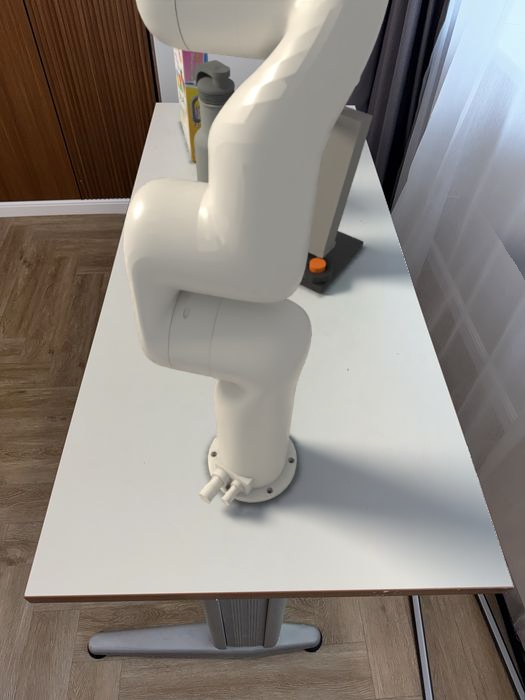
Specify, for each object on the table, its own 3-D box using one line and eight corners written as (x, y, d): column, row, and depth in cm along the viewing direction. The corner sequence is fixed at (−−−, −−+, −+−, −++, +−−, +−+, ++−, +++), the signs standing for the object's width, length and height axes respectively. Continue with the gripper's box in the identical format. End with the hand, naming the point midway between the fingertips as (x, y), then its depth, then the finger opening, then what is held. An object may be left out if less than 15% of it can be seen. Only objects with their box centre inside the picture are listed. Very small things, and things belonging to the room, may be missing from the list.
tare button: (319, 277, 94) (320, 270, 92) (306, 271, 95) (306, 264, 93) (327, 268, 95) (328, 261, 94) (314, 262, 96) (315, 255, 95)
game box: (213, 160, 123) (207, 36, 102) (191, 162, 122) (180, 38, 101) (200, 120, 136) (192, 3, 115) (180, 122, 135) (168, 4, 114)
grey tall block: (334, 247, 98) (375, 115, 82) (321, 259, 94) (362, 122, 78) (274, 220, 102) (301, 89, 86) (259, 231, 98) (284, 95, 81)
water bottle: (189, 195, 114) (176, 61, 92) (225, 181, 118) (220, 50, 96) (214, 217, 109) (207, 81, 87) (251, 202, 113) (252, 68, 91)
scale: (321, 294, 94) (323, 282, 92) (251, 261, 100) (251, 248, 97) (362, 247, 103) (365, 235, 101) (296, 219, 109) (297, 207, 106)
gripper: (335, 32, 65) (319, 161, 79) (390, -2, 74) (367, 120, 88) (287, 19, 68) (279, 146, 82) (346, -12, 77) (330, 108, 91)
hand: (325, 132), depth 85 cm, fingers closed on grey tall block, 4 cm apart
